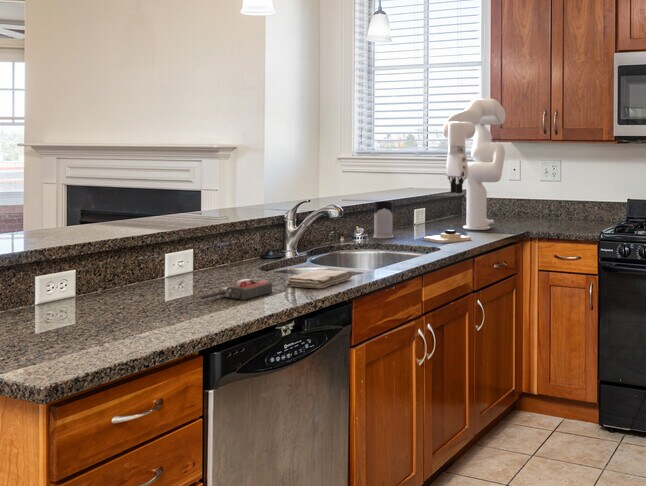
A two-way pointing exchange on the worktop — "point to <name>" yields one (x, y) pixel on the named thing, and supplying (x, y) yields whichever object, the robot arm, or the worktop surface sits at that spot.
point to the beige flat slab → (447, 238)
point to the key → (450, 231)
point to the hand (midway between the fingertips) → (456, 192)
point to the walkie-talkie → (244, 289)
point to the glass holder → (383, 220)
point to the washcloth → (318, 278)
